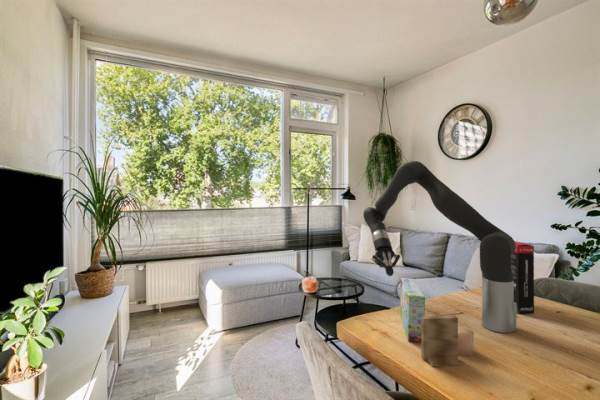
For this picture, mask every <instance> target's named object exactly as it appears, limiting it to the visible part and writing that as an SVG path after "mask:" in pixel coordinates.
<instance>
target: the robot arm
mask: <svg viewBox="0 0 600 400" xmlns="http://www.w3.org/2000/svg"><path fill="white" fill-rule="evenodd" d="M396 169H397V170H396V171H395V173H394V175H393V176H392V178H391V180H390V182H389V183H388V186H386V189H385V190H384V192H383V193H382V194H381V195H380V196H379V198H377V200H376V201H375V203H374V207H371V206H369V207H366V208H364V210H363V213H362V214H363V218H364V219H363V220H364V221H365V223H366V225H367V226H368V228H369V229H370V232H371V237H372V243H373V246H374V250H375V251H374V252H375V253H374V254H373V255H372V257H371V260H372V261H373V262H374V263H375V264H376V265H378V267H379V268H383V269H384V270H385V274H386V275H387V276H388V277H393V275H394V273H395V271H394V268H395V266H396V265H397V264H398V262H399V260H400V257H401V255H400V254H396V253H395V251H394V250H393V247H392V243H391V240H390V236H389V234H388V232H387V229H386V225H385V224H384V221H385V219H386V216H387V214H388V213H389V210H390V209H391V208H392V206H393V205H395V203H396V202H397V199H398V197H399V194H400V192H401V191H402V190H404V189H405V188H406V187H407V186H408V185H412V184H418V185H419V186H421V187H422V188H423V189H424V190H425V191H426V192H427V193H428V195H429V197H430V199H431V202H432V204H433V206H434V208H435V209H436V210H437V211H438V212H439V213H440V214H441V215H443V216H444V217H446V219H447V220H449V221H450V222H452V223H454V224H455V225H457V226H459V227H460V228H463V230H466V231H468V232H469V233H471V234H472V235H473V236H474V237H476V238H477V240H479V241H480V243H479V266H480V268H479V269H480V271H481V286H482V287H481V293H482V294H481V301H482V303H481V313H482V314H481V315H482V316H481V322H482V323H481V324H482V326H483V327H484V328H485V329H487V330H489V331H493V332H496V333H501V334H510V333H513V332H514V331H517V315H518V313H517V304H516V302H514V274H513V272H512V269H511V255H512V254H513V253H514V252H515V249H516V244H515V242H514V241H515V240H514V238H513V237H512V236H511V235H510V234H508V232H505V231H504V230H502V229H501V228H499V227H498V226H496V225H495V224H493V223H491V222H490V220H487V219H486V218H485V217H484V216H483V215H482V214H481V213H480V212H478V210H476V209H475V208H474V207H473V206H472V205H471V204H470V203H468V202H467V201H466V200H465V199H464V198H462V197H461V196H460V195H459V194H458V193H456V192H455V191H453V190H452V189H451V188H450V187H448V185H446V184H445V183H444V182H442V181H441V180H440V179H439V178H438V177H437V176H436V175H435V174H434V173H433V172H432V171H431V170H430V169H429V168H428V167H427V166H426V165H425V164H424V163H422V162H421V161H419V160H413V161H409V162H408V161H407V162H405V163H403V164H400V165H399V166H398V168H396ZM393 259H394V261H393V262H392V260H393Z"/></svg>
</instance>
